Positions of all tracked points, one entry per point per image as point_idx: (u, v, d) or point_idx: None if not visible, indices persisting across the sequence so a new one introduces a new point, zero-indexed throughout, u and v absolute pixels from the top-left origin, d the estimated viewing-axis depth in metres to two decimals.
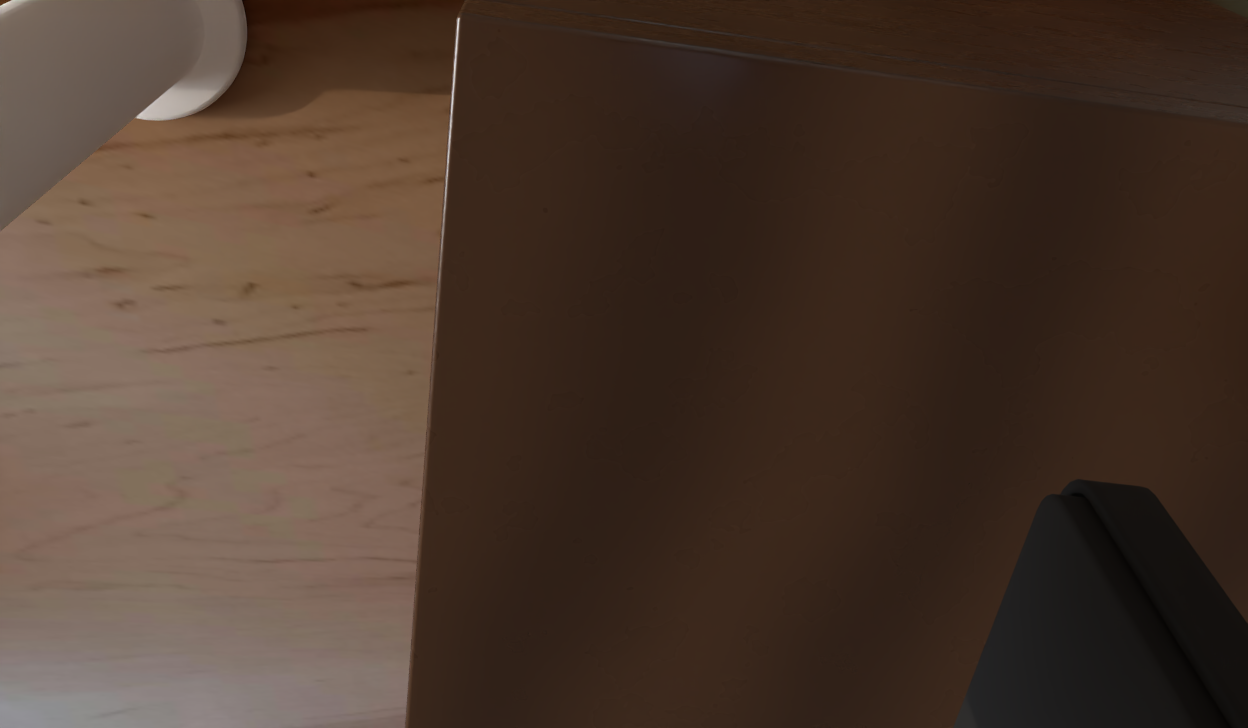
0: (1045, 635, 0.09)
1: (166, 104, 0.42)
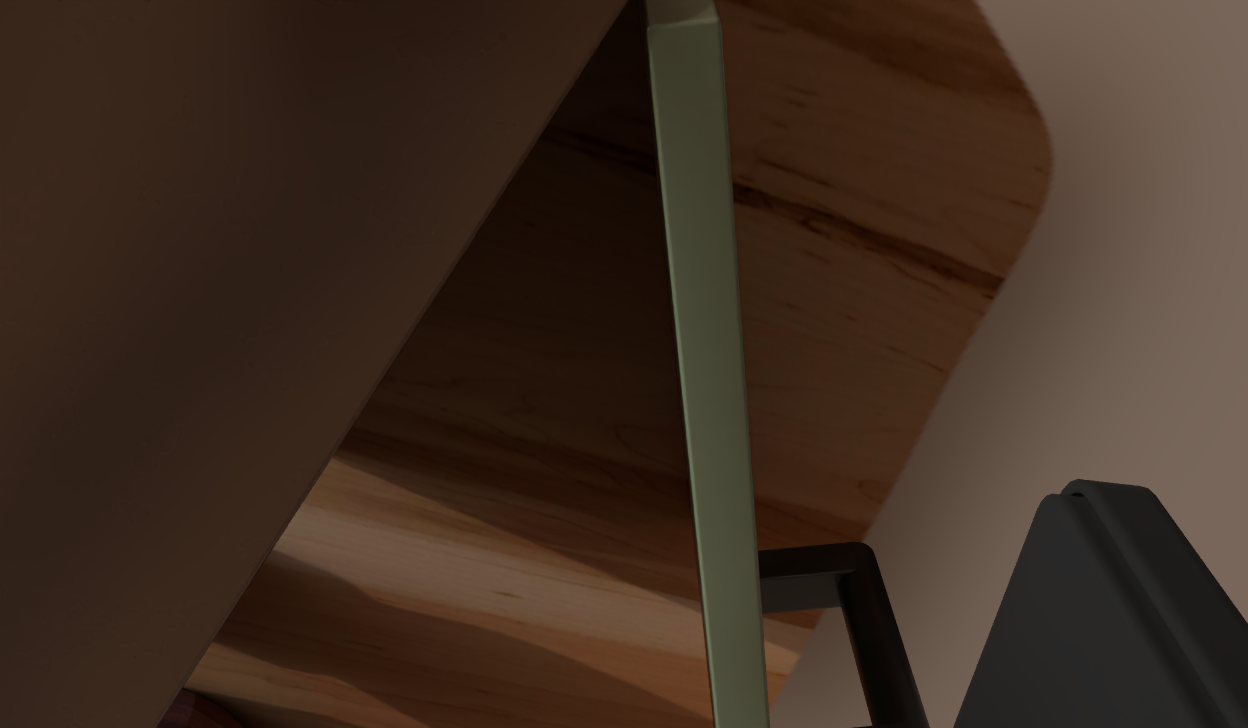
0: (1045, 635, 0.09)
1: None
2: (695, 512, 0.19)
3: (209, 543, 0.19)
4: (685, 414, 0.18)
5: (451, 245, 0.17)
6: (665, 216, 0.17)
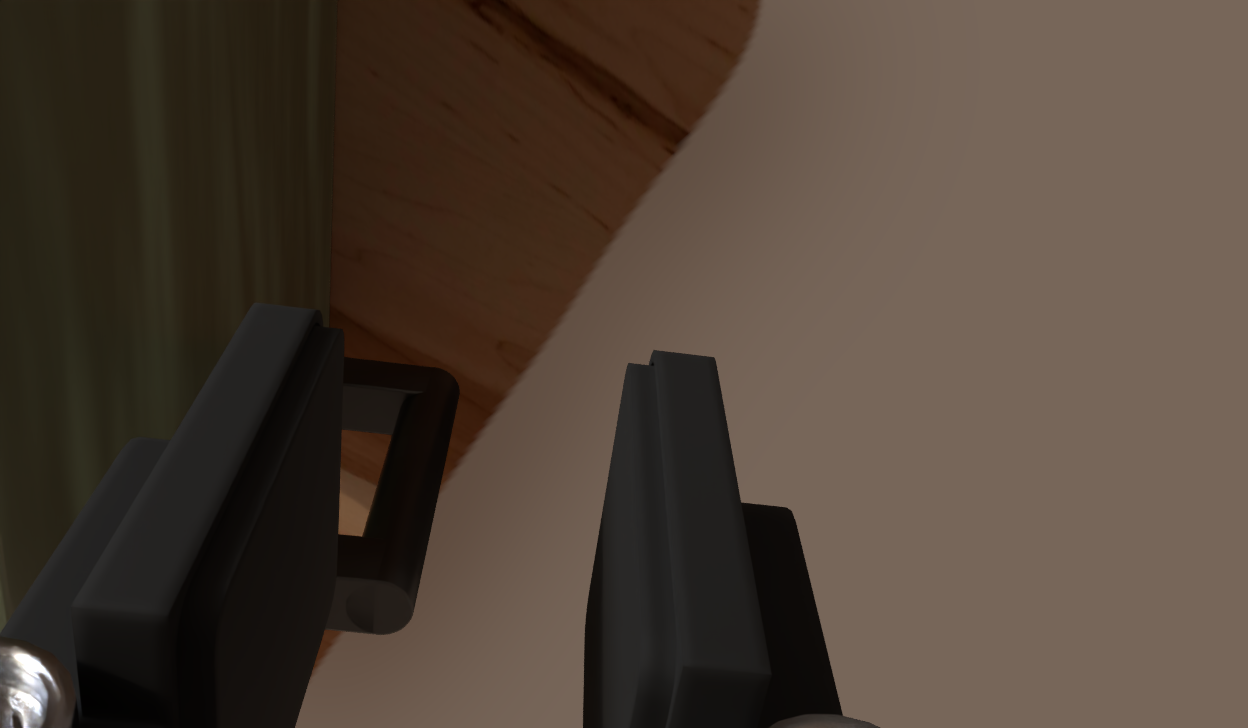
0: (614, 489, 0.10)
1: None
2: None
3: None
4: None
5: None
6: None
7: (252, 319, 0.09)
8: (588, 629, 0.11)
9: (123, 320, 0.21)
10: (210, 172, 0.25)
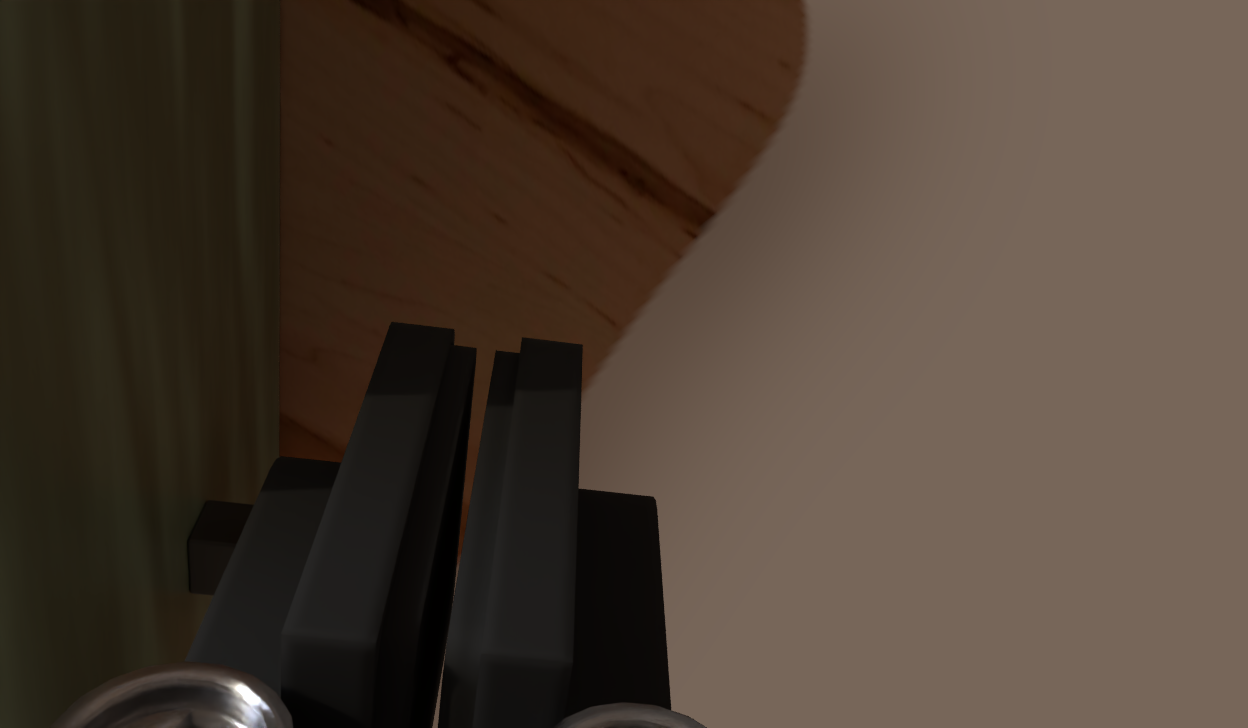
0: None
1: None
2: None
3: None
4: None
5: None
6: None
7: (394, 339, 0.09)
8: None
9: None
10: (65, 335, 0.18)
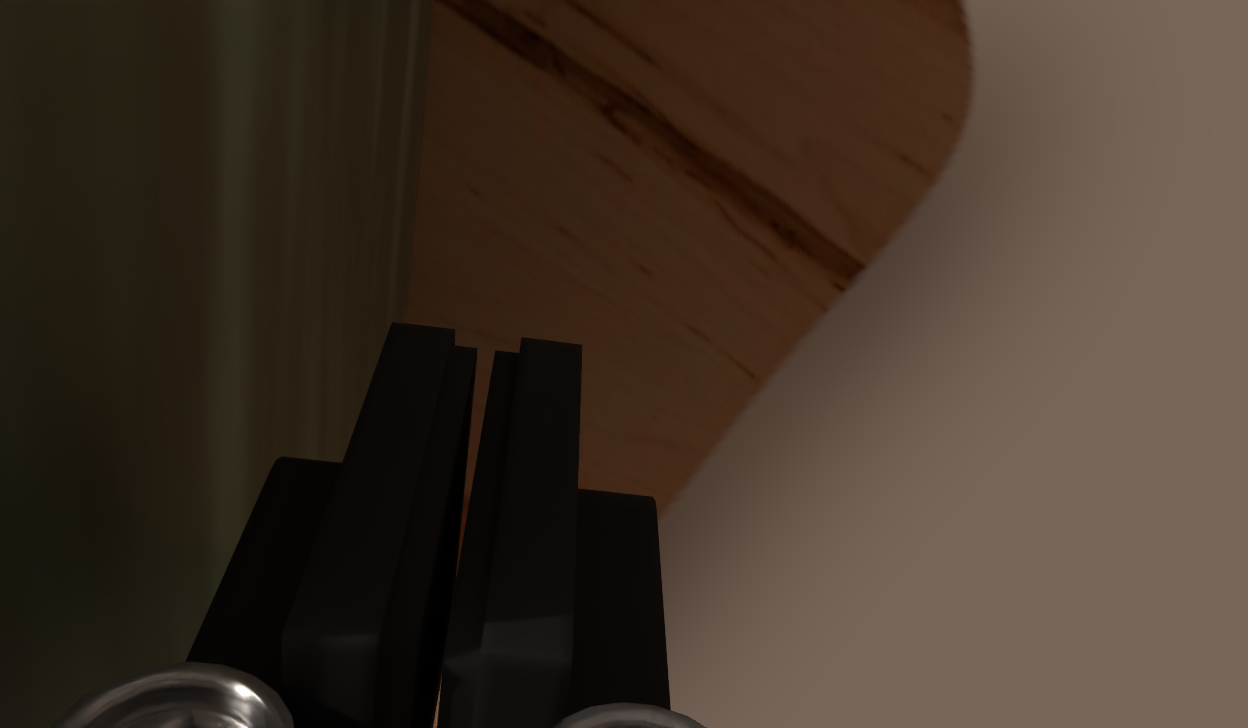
0: None
1: None
2: None
3: None
4: None
5: None
6: None
7: (395, 339, 0.09)
8: None
9: None
10: (295, 423, 0.17)
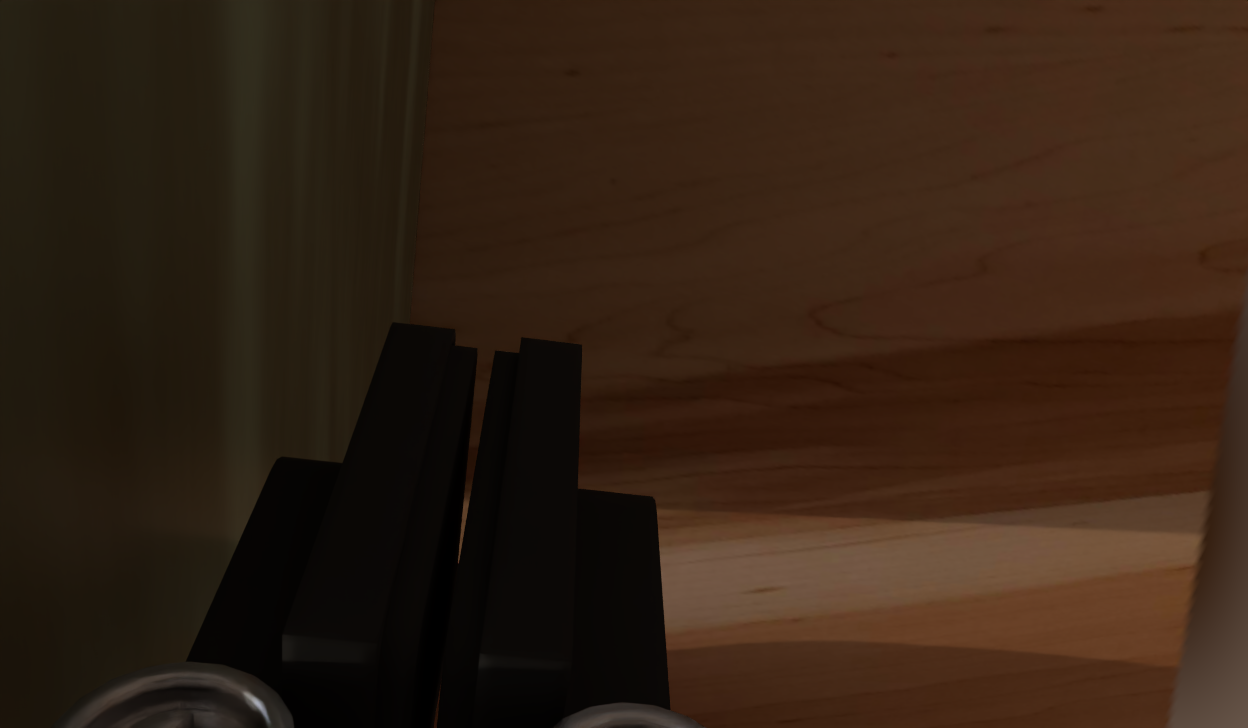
0: None
1: None
2: None
3: None
4: None
5: None
6: None
7: (395, 339, 0.09)
8: None
9: None
10: (305, 417, 0.17)
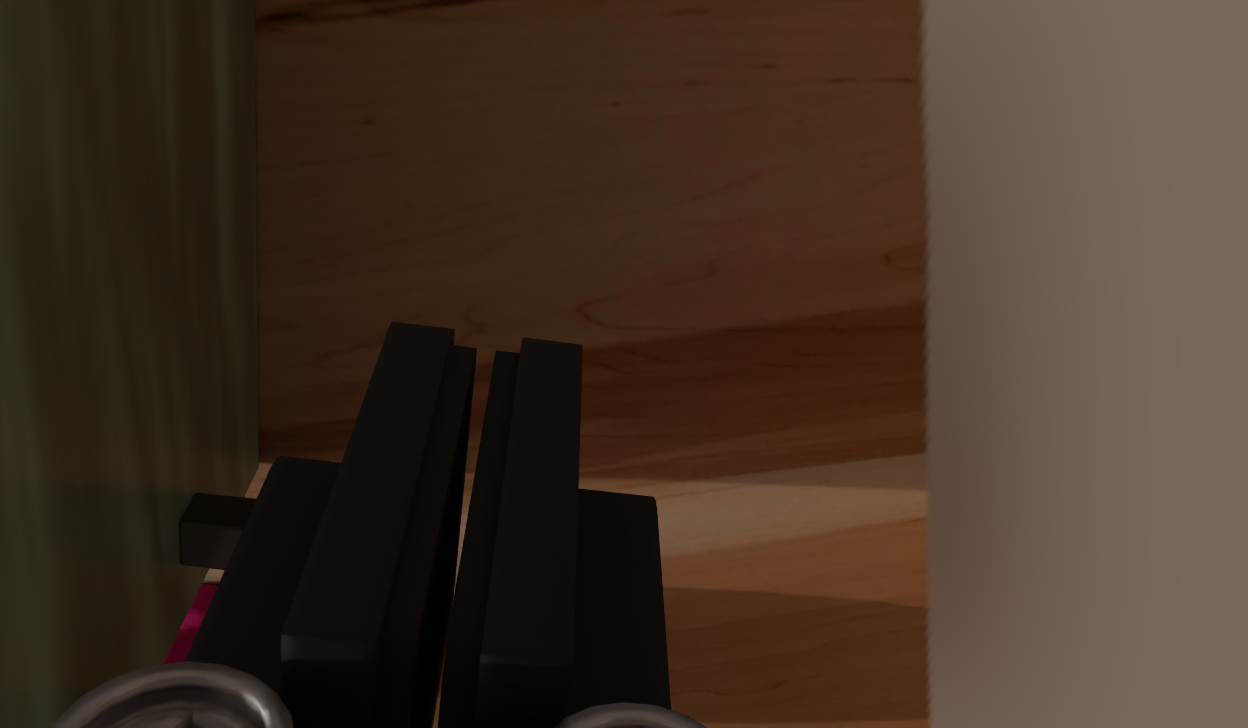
0: None
1: None
2: None
3: None
4: None
5: None
6: None
7: (394, 339, 0.09)
8: None
9: None
10: (89, 363, 0.25)
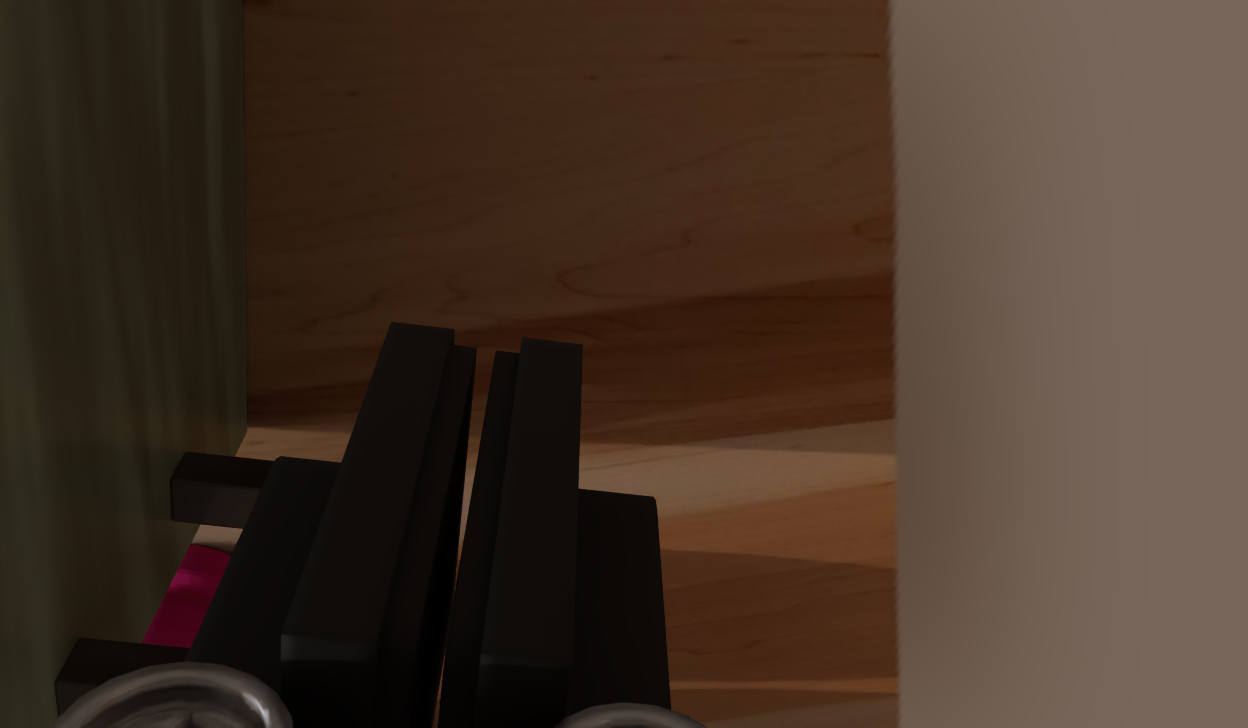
0: None
1: None
2: None
3: None
4: None
5: None
6: None
7: (394, 339, 0.09)
8: None
9: None
10: (84, 321, 0.27)
